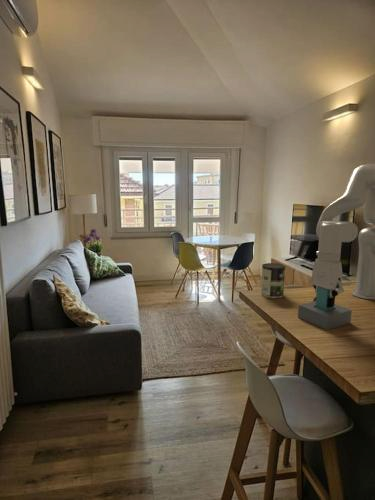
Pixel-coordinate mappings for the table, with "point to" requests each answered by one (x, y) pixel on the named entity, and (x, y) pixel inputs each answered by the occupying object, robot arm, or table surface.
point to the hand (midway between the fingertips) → (324, 304)
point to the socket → (324, 315)
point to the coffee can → (273, 280)
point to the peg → (322, 299)
